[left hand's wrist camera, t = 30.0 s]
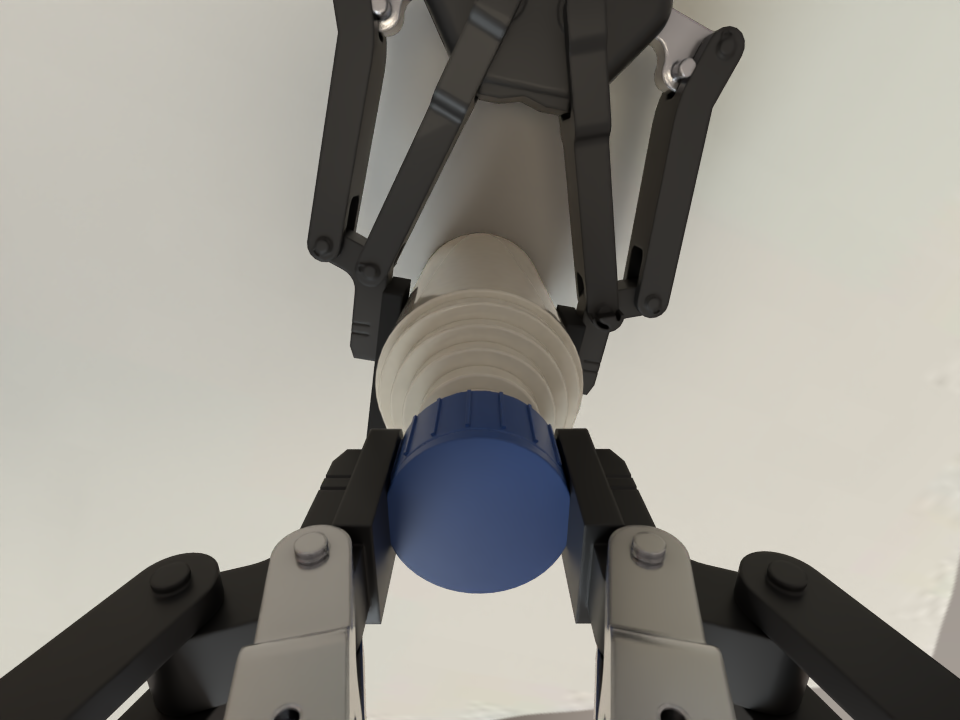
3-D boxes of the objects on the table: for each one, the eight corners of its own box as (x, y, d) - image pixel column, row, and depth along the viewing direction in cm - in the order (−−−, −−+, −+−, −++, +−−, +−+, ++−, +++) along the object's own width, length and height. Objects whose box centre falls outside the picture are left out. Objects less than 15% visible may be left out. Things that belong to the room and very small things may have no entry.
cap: (459, 354, 11) (454, 396, 9) (595, 445, 12) (617, 503, 10) (366, 476, 12) (344, 537, 10) (496, 552, 13) (499, 623, 11)
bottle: (497, 207, 26) (525, 290, 9) (563, 310, 28) (683, 529, 11) (394, 279, 27) (262, 461, 11) (464, 373, 29) (443, 649, 13)
